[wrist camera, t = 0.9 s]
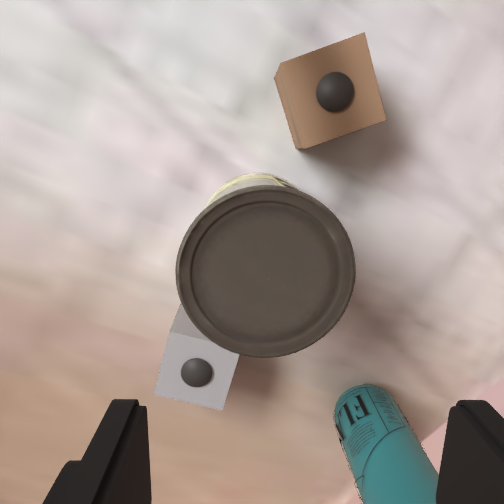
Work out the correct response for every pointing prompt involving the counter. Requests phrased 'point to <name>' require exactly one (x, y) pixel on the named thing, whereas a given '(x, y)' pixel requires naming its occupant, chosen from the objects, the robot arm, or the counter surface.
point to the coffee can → (265, 268)
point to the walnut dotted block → (329, 92)
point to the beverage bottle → (383, 449)
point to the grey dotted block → (194, 366)
